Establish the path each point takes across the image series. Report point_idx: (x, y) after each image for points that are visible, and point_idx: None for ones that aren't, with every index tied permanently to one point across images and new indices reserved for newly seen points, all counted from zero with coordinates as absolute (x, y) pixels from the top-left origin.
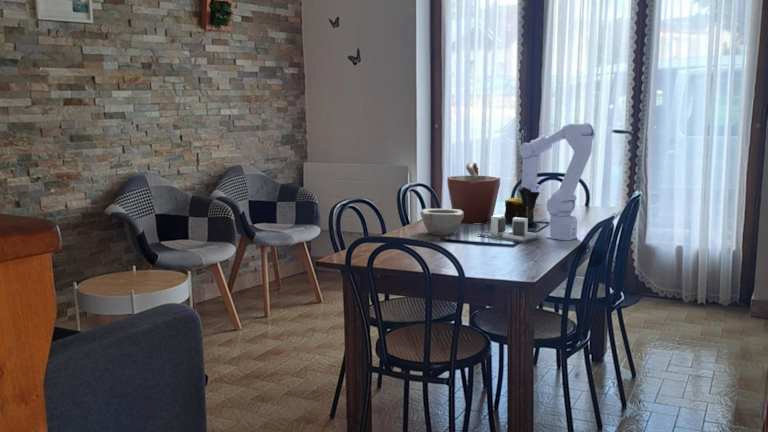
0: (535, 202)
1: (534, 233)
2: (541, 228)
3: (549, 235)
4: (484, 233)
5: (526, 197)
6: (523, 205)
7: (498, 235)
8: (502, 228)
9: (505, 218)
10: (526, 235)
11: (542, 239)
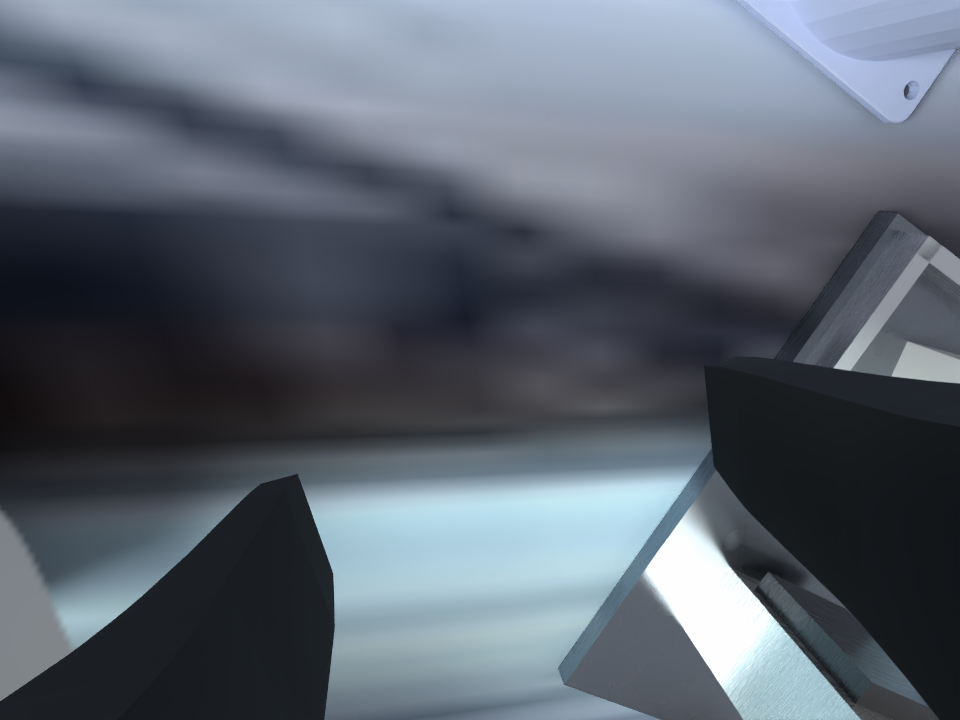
0: (891, 379)
1: (953, 268)
2: (190, 122)
3: (835, 62)
4: (742, 718)
5: (945, 713)
6: (330, 591)
7: (838, 602)
8: (839, 619)
9: (877, 684)
10: (949, 353)
11: (945, 166)
